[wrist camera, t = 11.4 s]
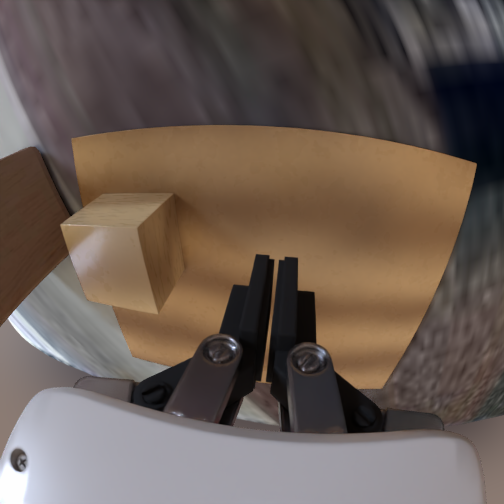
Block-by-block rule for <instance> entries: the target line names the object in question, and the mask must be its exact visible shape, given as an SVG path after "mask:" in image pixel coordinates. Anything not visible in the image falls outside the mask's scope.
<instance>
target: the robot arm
mask: <svg viewBox="0 0 504 504" xmlns="http://www.w3.org/2000/svg"><path fill="white" fill-rule="evenodd" d="M274 261H275V259H270V255H262V254H256V256H255V260H254V265H253V269H252V273H251V278H250V282H249V286H246V285H236V284H234V285H233V287H232V290H231V293H230V297H229V300H228V303H227V307H226V310H225V314H224V317H223V320H222V324H221V327H220V331H219V334H213V335H210V336H208V337H206V338H205V339H203V340H202V342H201V343H200V344H199V346H198V348H197V350H196V351H195V353H194V355H193V357H191V358H189V359H187V360H185V361H183V362H181V363H179V364H177V365H175V366H173V367H171V368H169V369H166V370H164V371H162V372H160V373H158V374H156V375H154V376H151V377H149V378H147V379H145V380H143V381H142V382H134V380H129V379H115V378H103V377H93V376H86V377H83V378H81V379H79V380H78V381H77V382H76V383H75V385H74V387H73V388H72V387H58V388H57V387H56V388H50V389H45V390H43V391H40V392H39V393H38V394H36V395H35V396H34V397H33V398H32V400H31V401H30V402H29V403H28V405H27V406H26V408H25V409H24V411H23V412H22V414H21V416H20V417H19V419H18V421H17V423H16V425H15V427H14V429H13V431H12V433H11V435H10V437H9V440H8V442H7V445H6V447H5V449H4V452H3V454H2V457H1V459H0V504H486V491H485V481H484V474H483V469H482V464H481V460H480V457H479V454H478V451H477V449H476V447H475V445H474V444H473V443H472V441H470V440H469V439H468V438H466V437H464V436H462V435H460V434H457V433H454V432H450V431H445V430H444V424H443V422H442V420H441V419H440V418H439V417H438V416H437V415H434V414H431V413H422V412H414V411H407V410H400V409H393V408H387V409H386V410H384V409H380V408H379V407H378V406H377V405H376V404H375V403H373V402H372V401H371V400H370V399H368V398H367V397H366V396H365V395H363V394H362V393H361V392H360V391H358V390H357V389H356V388H355V387H354V386H352V385H351V384H350V383H349V382H348V381H346V380H345V379H344V378H343V377H341V376H340V375H339V374H338V373H337V372H335V371H334V367H333V362H332V358H331V356H330V353H329V352H328V351H327V350H326V349H325V348H324V347H322V346H321V345H319V344H317V339H316V308H315V293H314V292H312V291H300V290H298V258H297V257H284V260H279V264H278V273H277V282H276V291H275V300H274V309H273V317H272V326H271V335H270V345H269V355H268V365H267V374H266V382H268V383H271V392H270V393H271V394H272V395H273V396H274V397H275V398H276V399H277V400H278V411H279V425H280V432H278V431H267V430H257V429H249V428H241V427H234V426H233V425H234V423H235V420H236V417H237V415H238V412H239V410H240V407H241V404H242V402H243V397H244V396H246V395H247V394H249V393H251V392H252V391H253V389H255V382H256V381H259V382H261V379H262V372H263V365H264V358H265V351H266V343H267V336H268V328H269V320H270V312H271V301H272V288H273V275H274Z"/></svg>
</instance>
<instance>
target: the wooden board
mask: <svg viewBox="0 0 504 504" xmlns="http://www.w3.org/2000/svg"><path fill="white" fill-rule="evenodd" d="M72 147H73V154H74V161H75V167H76V173H77V179H78V184H79V190H80V195H81V200H82V204H83V207H85V206H86V205H88V204H89V203H91V202H92V201H93V200H95V199H96V198H98V197H99V196H101V195H102V194H124V193H174V197H175V205H176V213H177V221H178V228H179V235H180V242H181V249H182V256H183V262H184V268H185V270H184V271H183V273H182V275H181V276H180V278H179V280H178V281H177V283H176V285H175V287H174V288H173V290H172V292H171V294H170V295H169V297H168V299H167V301H166V302H165V304H164V306H163V308H162V309H161V311H160V313H159V314H153V313H147V312H142V311H136V310H131V309H126V308H121V307H116V306H112V307H113V310H114V312H115V315H116V318H117V320H118V323H119V325H120V328H121V330H122V333H123V335H124V337H125V340H126V342H127V344H128V347H129V349H130V351H131V354H132V356H133V357H136V358H140V359H143V360H147V361H151V362H155V363H159V364H163V365H167V366H172V367H173V366H175V365H177V364H179V363H181V362H183V361H185V360H187V359H189V358H191V357H193V355H194V353H195V351H196V350H197V348H198V346H199V344H200V343H201V342H202V340H203V339H205V338H206V337H208V336H210V335H213V334H219V331H220V327H221V324H222V320H223V317H224V314H225V310H226V307H227V303H228V300H229V297H230V293H231V290H232V287H233V285H234V284H236V285H246V286H249V282H250V278H251V273H252V269H253V265H254V260H255V256H256V254H262V255H270V259H275V261H274V275H273V288H272V301H271V312H270V320H269V328H268V336H267V343H266V351H265V358H264V365H263V372H262V379H261V382H263V383H268V382H266V374H267V365H268V355H269V345H270V335H271V326H272V317H273V309H274V300H275V291H276V282H277V273H278V264H279V260H284V257H297V258H298V290H300V291H312V292H314V293H315V308H316V339H317V344H319V345H321V346H322V347H324V348H325V349H326V350H327V351H328V352H329V353H330V356H331V358H332V362H333V367H334V371H335V372H337V373H338V374H339V375H340V376H341V377H343V378H344V379H345V380H346V381H348V382H349V383H350V384H351V385H352V386H354V387H355V388H356V389H381V388H382V387H383V385H384V384H385V382H386V381H387V379H388V378H389V376H390V375H391V373H392V372H393V370H394V368H395V367H396V365H397V364H398V362H399V360H400V359H401V357H402V355H403V354H404V352H405V350H406V348H407V347H408V345H409V343H410V341H411V339H412V338H413V336H414V334H415V332H416V330H417V328H418V326H419V325H420V323H421V321H422V319H423V317H424V315H425V313H426V311H427V309H428V307H429V304H430V302H431V300H432V298H433V296H434V294H435V292H436V289H437V287H438V285H439V282H440V280H441V278H442V275H443V273H444V270H445V268H446V266H447V263H448V260H449V258H450V255H451V252H452V250H453V247H454V244H455V241H456V239H457V236H458V233H459V230H460V226H461V223H462V220H463V217H464V214H465V210H466V207H467V203H468V199H469V196H470V192H471V188H472V184H473V179H474V175H475V171H476V166H477V164H476V163H474V162H471V161H468V160H464V159H461V158H458V157H454V156H451V155H447V154H443V153H440V152H436V151H432V150H428V149H424V148H420V147H415V146H411V145H407V144H402V143H397V142H392V141H387V140H382V139H376V138H371V137H365V136H358V135H352V134H345V133H337V132H329V131H321V130H311V129H301V128H288V127H273V126H251V125H192V126H170V127H155V128H143V129H133V130H124V131H116V132H108V133H101V134H94V135H88V136H82V137H76V138H72ZM256 382H259V381H256Z"/></svg>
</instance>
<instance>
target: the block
mask: <svg viewBox="0 0 504 504" xmlns="http://www.w3.org/2000/svg"><path fill="white" fill-rule="evenodd" d="M68 218H70V215H69V213H68V211H67V209H66V207H65V205H64V203H63V201H62V200H61V198H60V196H59V194H58V191H57V189H56V187H55V185H54V183H53V181H52V179H51V177H50V175H49V172H48V170H47V168H46V166H45V163H44V161H43V159H42V157H41V154H40V152H39V150H38V149H37V148H36V147H28V148H25V149H22V150H20V151H18V152H15V153H13V154H11V155H9V156H6V157H4V158H2V159H0V326H1V325H2V324H3V323H4V322H5V321H6V319H7V318H8V317H9V316H10V315H11V314H12V313H13V311H14V310H15V309H16V308H17V307H18V306H19V305H20V304H21V302H22V301H23V300H24V299H25V298H26V297H27V296H28V295H29V294H30V293H31V292H32V291H33V289H34V288H35V287H36V286H37V285H38V284H39V283H40V282H41V281H42V280H43V279H44V278H45V277H46V276H47V275H48V274H49V273H50V272H51V271H52V270H53V269H54V268H55V267H56V266H57V265H58V264H59V263H60V262H61V261H62V260H64V259H65V258H66V257H67V256H68V255H69V251H68V248H67V245H66V242H65V239H64V236H63V232H62V229H61V226H60V224H62V223H63V222H64V221H66V220H67V219H68Z"/></svg>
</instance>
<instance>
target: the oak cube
mask: <svg viewBox="0 0 504 504" xmlns="http://www.w3.org/2000/svg"><path fill="white" fill-rule="evenodd" d="M60 226H61V229H62V232H63V236H64V239H65V242H66V245H67V248H68V251H69V254H70V257H71V260H72V263H73V265H74V268H75V271H76V274H77V276H78V279H79V281H80V284H81V286H82V289H83V291H84V294H85V296H86V298H87V300H89V301H93V302H98V303H102V304H107V305H111V306H116V307H121V308H126V309H131V310H136V311H142V312H147V313H153V314H159V313H160V311H161V309H162V308H163V306H164V304H165V302H166V301H167V299H168V297H169V295H170V294H171V292H172V290H173V288H174V287H175V285H176V283H177V281H178V280H179V278H180V276H181V275H182V273H183V271H184V270H185V268H184V262H183V256H182V249H181V242H180V235H179V228H178V221H177V213H176V205H175V197H174V193H124V194H102V195H101V196H99V197H98V198H96V199H95V200H93V201H92V202H91V203H89V204H88V205H86V206H85V207H83V208H82V209H81V210H79V211H78V212H76V213H75V214H74V215H72V216H71V217H70V218H68V219H67V220H66V221H64V222H63V223H62V224H60Z"/></svg>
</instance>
